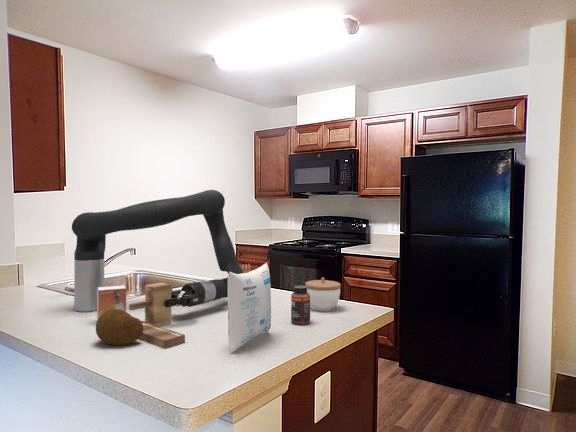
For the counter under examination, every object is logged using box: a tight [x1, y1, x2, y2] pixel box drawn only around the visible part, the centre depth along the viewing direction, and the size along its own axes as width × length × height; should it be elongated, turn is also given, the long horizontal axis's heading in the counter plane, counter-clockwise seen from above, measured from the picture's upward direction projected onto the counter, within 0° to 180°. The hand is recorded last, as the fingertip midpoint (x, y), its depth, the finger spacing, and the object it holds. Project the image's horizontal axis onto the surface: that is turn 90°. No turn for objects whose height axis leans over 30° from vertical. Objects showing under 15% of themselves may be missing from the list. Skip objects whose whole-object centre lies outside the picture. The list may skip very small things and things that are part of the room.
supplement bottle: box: [290, 285, 311, 326], centre depth 123 cm, size 6×6×11 cm
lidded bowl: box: [304, 277, 342, 312], centre depth 141 cm, size 13×13×11 cm
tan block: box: [128, 282, 172, 327], centre depth 117 cm, size 4×12×12 cm, turn 143°
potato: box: [95, 309, 143, 346], centre depth 103 cm, size 8×12×9 cm
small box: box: [96, 284, 127, 322], centre depth 123 cm, size 8×6×10 cm
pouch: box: [227, 262, 272, 354], centre depth 105 cm, size 8×19×20 cm, turn 151°
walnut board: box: [137, 320, 186, 350], centre depth 110 cm, size 26×6×2 cm, turn 53°
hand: (156, 301), depth 119 cm, fingers open, 8 cm apart
